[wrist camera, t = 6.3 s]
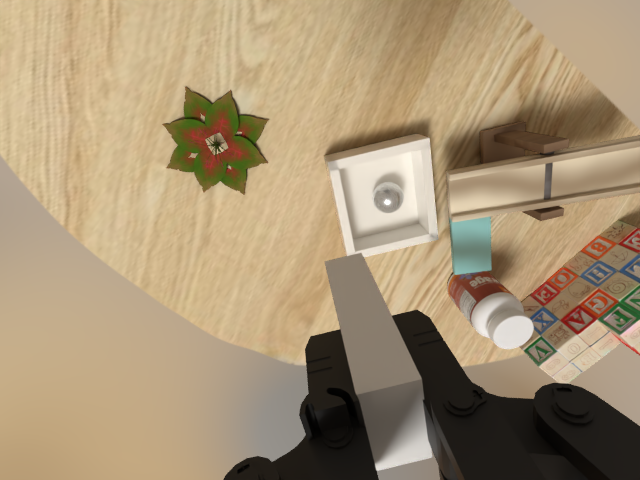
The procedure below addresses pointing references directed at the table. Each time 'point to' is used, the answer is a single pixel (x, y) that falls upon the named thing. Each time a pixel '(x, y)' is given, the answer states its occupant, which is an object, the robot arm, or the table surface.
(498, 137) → the fulcrum
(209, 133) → the lily flower
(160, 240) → the table surface
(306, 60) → the table surface
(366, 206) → the white square tray
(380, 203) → the ball
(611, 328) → the stack of blocks
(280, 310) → the table surface
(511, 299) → the pill bottle
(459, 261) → the lever
